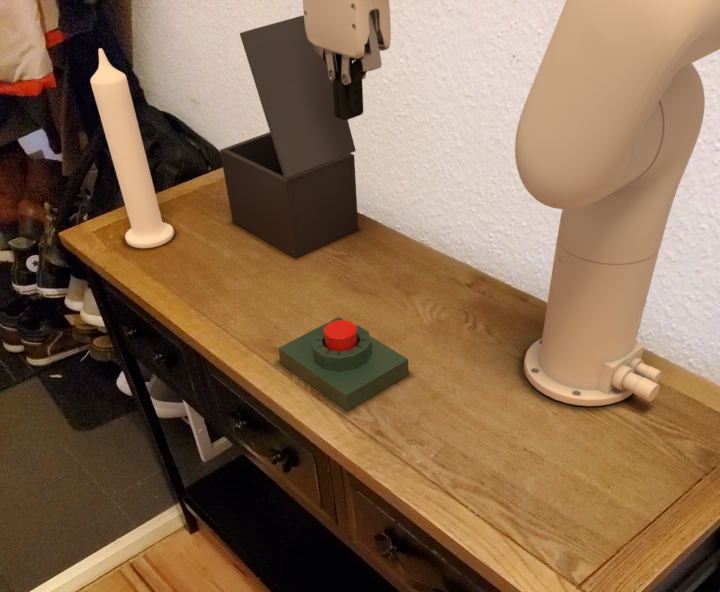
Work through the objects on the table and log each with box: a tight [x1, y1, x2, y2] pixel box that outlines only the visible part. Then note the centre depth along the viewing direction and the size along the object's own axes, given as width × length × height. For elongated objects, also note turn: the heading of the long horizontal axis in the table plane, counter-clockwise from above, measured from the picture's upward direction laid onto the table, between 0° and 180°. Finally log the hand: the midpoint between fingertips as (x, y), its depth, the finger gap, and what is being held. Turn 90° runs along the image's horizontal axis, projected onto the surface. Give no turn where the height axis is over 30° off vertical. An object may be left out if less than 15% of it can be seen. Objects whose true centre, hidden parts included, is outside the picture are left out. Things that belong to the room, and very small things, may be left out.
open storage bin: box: [219, 131, 359, 259], centre depth 106 cm, size 16×12×11 cm
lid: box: [239, 14, 356, 178], centre depth 93 cm, size 17×12×1 cm
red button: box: [324, 319, 357, 352], centre depth 81 cm, size 4×4×2 cm
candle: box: [89, 47, 175, 249], centre depth 101 cm, size 7×7×25 cm
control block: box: [277, 316, 409, 412], centre depth 83 cm, size 12×9×4 cm
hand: (349, 115), depth 88 cm, fingers closed
